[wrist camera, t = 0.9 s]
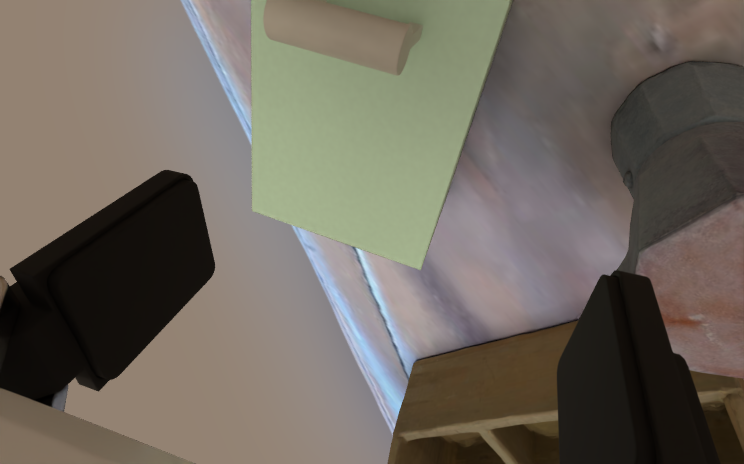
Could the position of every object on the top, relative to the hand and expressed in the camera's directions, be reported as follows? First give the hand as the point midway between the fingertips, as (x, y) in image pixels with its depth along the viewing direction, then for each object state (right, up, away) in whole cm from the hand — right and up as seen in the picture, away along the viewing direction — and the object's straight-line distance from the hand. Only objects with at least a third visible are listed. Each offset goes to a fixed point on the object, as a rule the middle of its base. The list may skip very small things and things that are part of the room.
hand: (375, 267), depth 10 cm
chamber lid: (-1, +7, +16) cm, 17 cm away
